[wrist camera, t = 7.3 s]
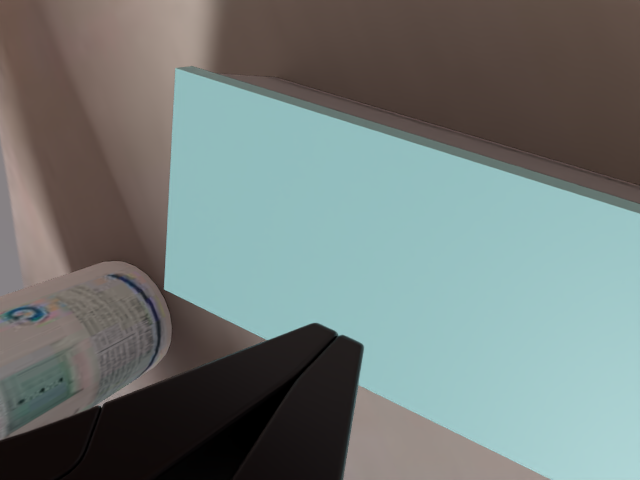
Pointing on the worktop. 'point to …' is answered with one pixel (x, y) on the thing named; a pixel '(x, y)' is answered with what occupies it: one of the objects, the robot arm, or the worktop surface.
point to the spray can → (77, 342)
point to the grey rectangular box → (450, 137)
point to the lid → (416, 269)
